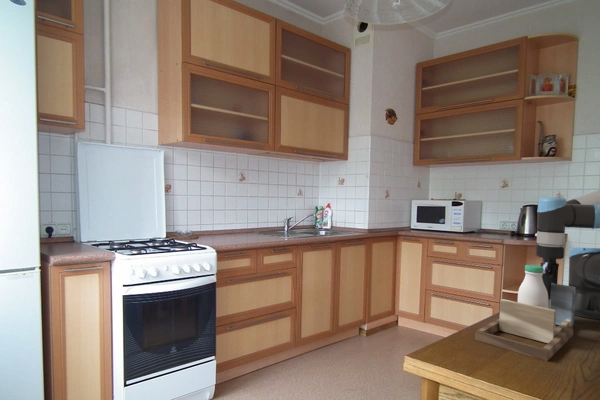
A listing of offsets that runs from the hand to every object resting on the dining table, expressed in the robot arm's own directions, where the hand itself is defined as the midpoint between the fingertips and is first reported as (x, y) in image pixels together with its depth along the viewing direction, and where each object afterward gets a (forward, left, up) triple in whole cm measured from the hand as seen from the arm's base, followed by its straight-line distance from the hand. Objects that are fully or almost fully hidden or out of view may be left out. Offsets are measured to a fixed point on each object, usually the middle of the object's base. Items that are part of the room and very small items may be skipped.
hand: (547, 317), depth 123 cm
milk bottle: (+15, +7, -2) cm, 17 cm away
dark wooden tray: (+20, +10, -1) cm, 23 cm away
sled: (+9, +4, -1) cm, 10 cm away
